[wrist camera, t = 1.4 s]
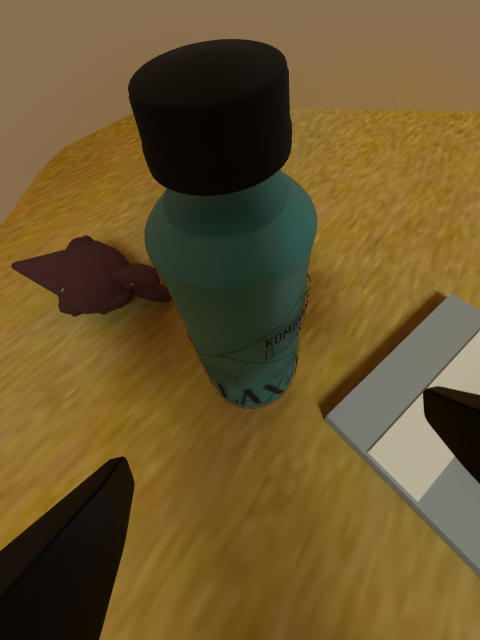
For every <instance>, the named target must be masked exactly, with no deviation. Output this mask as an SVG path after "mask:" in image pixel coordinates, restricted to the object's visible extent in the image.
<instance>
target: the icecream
mask: <svg viewBox="0 0 480 640" xmlns="http://www.w3.org/2000/svg"><path fill="white" fill-rule="evenodd" d="M11 267H12V268H13V269H14V270H16V271H17V272H19V273H20V274H22V275H24V276H26V277H27V278H29V279H31V280H33V281H34V282H36V283H38V284H39V285H41V286H43V287H44V288H46V289H48V290H49V291H51V292H53V293H54V294H56V295H58V298H59V305H58V306H59V309H60V311H61V312H62V313H66V314H71V315H72V316H74V317H75V316H78V315H80V314H83V313H85V314H91V313H100V314H106V313H108V312H109V311H112V310H115V309H117V308H121V307H123V306H125V305H126V304H127V303H128V301H129V299H130V298H131V294H132V295H135V296H138V297H140V298H144V299H148V300H152V301H159V302H168V301H171V300H172V297H171V295H170V293H169V291H168V289H167V287H166V286H163V285H161V284H159V283H160V279H159V277H158V274H157V272H156V270H155V269H154V268H152V267H151V266H147V265H142V264H131V265H130V264H129V262H128V261H127V259H126V258H125V257H124V255H123V254H121V253H120V252H118V251H117V250H116V249H114V248H112V247H110V246H108V245H105V244H103V243H101V242H99V241H94V240H93V239H92V238H91V237H89V236H83V237H81V238H75V239H73V240H72V241H71V242H70V243H69V245H68V246H67V248H66V250H62V251H58V252H54V253H50V254H46V255H42V256H38V257H34V258H30V259H26V260H22V261H18V262H15V263H13V264H12V265H11Z"/></svg>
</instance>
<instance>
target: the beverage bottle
mask: <svg viewBox="0 0 480 640" xmlns="http://www.w3.org/2000/svg"><path fill="white" fill-rule="evenodd" d="M128 92H129V100H130V104H131V107H132V110H133V114H134V117H135V120H136V124H137V127H138V130H139V134H140V137H141V141H142V150H143V153H144V156H145V159H146V162H147V165H148V167H149V170H150V172H151V174H152V176H153V177H154V179H155V180H156V181H157V182H158V183H160V184H161V185H162V186H164V187H166V188H167V189H166V190H165V192H164V193H163V194H162V196H161V197H160V198H159V200H158V201H157V203H156V204H155V206H154V208H153V210H152V211H151V213H150V215H149V218H148V220H147V223H146V228H145V245H146V250H147V252H148V255H149V257H150V259H151V261H152V263H153V265H154V266H155V268H156V269H157V270H158V271H159V273H160V275H161V277H162V279H163V281H164V283H165V285H166V287H167V289H168V291H169V293H170V295H171V297H172V299H173V301H174V303H175V305H176V307H177V310H178V312H179V314H180V316H181V318H182V320H183V322H184V324H185V326H186V328H187V330H188V332H189V335H190V337H189V338H191V339H190V340H192V341H191V342H193V343H192V344H194V345H193V346H195V347H194V348H196V349H195V350H196V352H198V353H197V354H199V355H198V356H200V357H199V358H201V359H200V361H201V360H202V361H201V362H202V363H201V364H203V365H204V366H205V368H206V370H207V372H208V374H207V375H209V376H210V378H211V380H212V382H213V384H214V385H215V387H216V389H217V390H218V392H219V393H220V394H221V395H222V396H223V397H224V398H225V399H227V401H229V402H230V403H231V402H232V403H233V404H236V405H238V406H243V407H259V406H263V405H266V404H269V403H271V402H273V401H274V400H276V399H278V397H280V396H281V395H282V394H283V393H285V392H286V391H285V390H286V389H288V388H289V387H288V386H289V384H290V382H291V379H292V376H293V370H294V364H295V361H296V366H297V361H298V356H297V355H296V354H297V353H296V352H297V350H299V349H297V344H298V342H299V341H298V338H299V333H300V332H299V331H301V328H300V325H301V318H302V317H303V316H302V313H305V314H306V311H305V312H304V310H303V305H304V298H305V295H306V293H307V292H308V291H309V290H310V289H309V290H308V291H307V292H306V285H307V275H308V267H309V261H310V254H311V248H312V246H313V243H314V240H315V236H316V229H317V215H316V211H315V207H314V204H313V202H312V200H311V198H310V197H309V195H308V194H307V192H306V191H305V190H304V189H303V188H302V187H301V186H300V185H299V184H298V183H297V182H296V181H295V180H293V179H292V178H291V177H289V176H288V175H287V174H285V173H284V172H282V171H281V170H280V169H281V168H282V166H283V165H284V164H285V163H286V161H287V160H288V158H289V155H290V152H291V144H292V122H291V118H290V104H289V70H288V67H287V62H286V59H285V56H284V55H283V54H282V53H281V52H280V51H279V50H278V49H276V48H274V47H273V46H270V45H268V44H265V43H262V42H256V41H251V40H241V39H222V40H212V41H205V42H200V43H195V44H191V45H186V46H183V47H179V48H177V49H174V50H171V51H168V52H166V53H164V54H161V55H159V56H157V57H156V58H154V59H152V60H150V61H149V62H147V63H146V64H144V65H143V66H142V67H141V68H140V69H138V70H137V71H136V72H135V74H134V75H133V76H132V78H131V80H130V83H129V85H128ZM308 277H309V276H308ZM309 279H310V277H309ZM310 283H311V281H310ZM309 288H310V287H309ZM305 292H306V293H305ZM307 294H308V293H307ZM307 297H309V294H308V295H307ZM307 303H308V299H307ZM305 307H306V308H307V304H305ZM305 307H304V308H305ZM306 308H305V309H306ZM305 314H303V315H305ZM303 319H304V320H305V317H303ZM302 325H303V323H302ZM303 326H304V325H303ZM302 330H303V329H302ZM301 334H302V333H301ZM189 335H188V336H189ZM301 337H302V336H301ZM190 345H191V344H190ZM299 348H300V346H299ZM298 353H299V352H298ZM196 356H197V355H196ZM296 356H297V357H296ZM295 358H297V360H296V359H295ZM203 365H201V366H203ZM296 366H295V371H296ZM202 368H203V367H202ZM295 373H296V372H295ZM295 373H294V375H295ZM208 379H209V378H208ZM293 379H294V378H293ZM209 381H210V380H209ZM212 382H210V383H212ZM291 383H292V382H291ZM290 385H291V384H290ZM215 391H216V390H215ZM287 391H288V390H287ZM216 393H217V392H216ZM223 397H222V398H223ZM279 399H280V398H279ZM223 400H224V399H223ZM227 401H226V402H227ZM273 403H274V402H273ZM271 404H272V403H271ZM269 405H270V404H269ZM234 406H235V405H234ZM238 406H237V407H238ZM263 407H264V406H263ZM241 408H242V407H241ZM259 408H261V407H259ZM249 409H251V408H249Z"/></svg>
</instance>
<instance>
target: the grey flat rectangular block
mask: <svg viewBox="0 0 480 640" xmlns="http://www.w3.org/2000/svg"><path fill="white" fill-rule="evenodd" d="M435 386H441V387H446V388H450V389H455V390H460V391H464V392H469V393H473V394H478V395H480V310H478V309H477V308H475V307H473V306H472V305H470V304H468V303H467V302H465V301H463V300H462V299H460V298H458V297H457V296H455V295H454V294H452V293H451V294H450V295H449V296H448V297H447V298H446V299H445V300H444V301H443V302H442V303H441V304H440V305H439V306H438V307H437V308H436V309H435V310H434V311H433V312H432V313H431V314H430V315H429V316H428V317H427V318H426V319H425V320H423V321H422V322H421V323H420V324H419V325H418V326H417V327H416V328H415V329H414V330H413V331H412V332H411V333H410V334H409V335H408V336H407V337H406V338H405V339H404V340H403V341H402V342H401V343H400V344H399V345H398V346H397V347H396V348H395V349H394V350H393V351H392V352H391V353H390V354H389V355H388V356H387V357H386V358H385V359H384V360H383V361H382V362H381V363H380V364H379V365H378V366H377V367H376V368H375V369H374V370H373V371H372V372H371V373H370V374H369V375H368V376H366V377H365V378H364V379H363V380H362V381H361V382H360V383H359V384H358V385H357V386H356V387H355V388H354V389H353V390H352V391H351V392H350V393H349V394H348V395H347V396H346V397H345V398H344V399H343V400H342V401H341V402H340V403H339V404H338V405H337V406H336V407H335V408H334V409H333V410H332V411H331V412H330V413H329V414H328V415H327V416H326V417H325V419H324V420H325V421H326V422H327V423H328V424H329V425H330V426H331V427H332V428H333V429H334V430H335V431H336V432H337V433H338V434H339V435H340V436H341V437H342V438H343V439H344V440H345V441H346V442H347V443H348V445H349V446H350V447H351V448H352V449H353V450H354V451H355V452H356V453H357V454H358V455H359V456H360V457H361V458H362V459H363V460H364V461H365V462H366V463H367V464H368V465H369V466H370V467H371V468H372V469H373V470H374V471H375V472H376V473H377V474H378V475H379V476H380V477H381V478H382V479H383V480H384V481H385V482H386V483H387V484H388V485H389V486H390V487H391V488H392V489H393V490H394V491H395V492H396V493H397V494H398V495H399V496H400V497H401V498H402V499H403V500H404V501H405V502H406V503H407V504H408V505H409V506H410V507H411V508H412V509H413V510H414V511H415V512H416V514H417V515H418V516H419V517H420V518H421V519H422V520H423V521H424V522H425V523H426V524H427V525H428V526H429V527H430V528H431V529H432V530H433V531H434V532H435V533H436V534H437V535H438V536H439V537H440V538H441V539H442V540H443V541H444V542H445V543H446V544H447V545H448V546H449V547H450V548H451V549H452V550H453V551H454V552H455V553H456V554H457V555H458V556H459V557H460V558H461V559H462V560H463V561H464V562H465V563H466V564H467V565H468V566H469V567H470V568H471V569H472V570H473V571H474V572H475V573H476V574H477V575H478V576H479V577H480V484H479V483H478V482H477V481H476V480H475V479H474V478H473V476H472V475H471V474H470V473H469V472H468V471H467V470H466V469H465V468H464V467H463V466H462V464H461V463H460V462H459V461H458V460H457V458H456V457H455V456H454V455H453V453H452V452H451V451H450V450H449V448H448V447H447V446H446V445H445V443H444V442H443V441H442V440H441V438H440V437H439V436H438V435H437V433H436V432H435V431H434V430H433V428H432V427H431V426H430V424H429V423H428V422H427V420H426V418H425V415H424V406H423V391H424V390H425V389H426V388H431V387H435Z"/></svg>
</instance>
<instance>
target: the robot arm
mask: <svg viewBox="0 0 480 640" xmlns="http://www.w3.org/2000/svg"><path fill="white" fill-rule="evenodd" d="M423 406H424V415H425V418H426V420H427V422H428V423H429V424H430V426H431V427H432V428H433V430H434V431H435V432H436V433H437V435H438V436H439V437H440V438H441V440H442V441H443V442H444V443H445V445H446V446H447V447H448V448H449V450H450V451H451V452H452V453H453V455H454V456H455V457H456V458H457V460H458V461H459V462H460V463H461V464H462V466H463V467H464V468H465V469H466V470H467V471H468V472H469V473H470V474H471V475H472V476H473V478H474V479H475V480H476V481H477V482H478V483H479V484H480V395H478V394H473V393H469V392H464V391H460V390H455V389H450V388H446V387H441V386H435V387H431V388H426V389H425V390H424V391H423ZM133 492H134V479H133V476H132V473H131V470H130V467H129V464H128V462H127V459H126V458H125V457H118V458H113V459H110V460H109V461H107V462H106V463H105V464H104V465H103V466H101V467H100V468H99V469H98V470H97V471H95V472H94V473H93V474H92V475H91V476H89V477H88V478H87V479H86V480H85V481H83V482H82V483H81V484H80V485H79V486H77V487H76V488H75V489H74V490H73V491H71V492H70V493H69V494H68V495H67V496H65V497H64V498H63V499H62V500H61V501H60V502H58V503H57V504H56V505H55V506H54V507H52V508H51V509H50V510H49V511H48V512H46V513H45V514H44V515H43V516H42V517H40V518H39V519H38V520H37V521H36V522H34V523H33V524H32V525H31V526H30V527H28V528H27V529H26V530H25V531H24V532H22V533H21V534H20V535H19V536H18V537H16V538H15V539H14V540H13V541H12V542H10V543H9V544H8V545H7V546H6V547H5V548H3V549H2V550H1V551H0V640H99V638H100V635H101V631H102V627H103V623H104V620H105V616H106V612H107V609H108V605H109V601H110V597H111V594H112V590H113V586H114V582H115V579H116V575H117V571H118V568H119V564H120V560H121V556H122V553H123V548H124V544H125V539H126V534H127V528H128V522H129V516H130V510H131V504H132V498H133Z"/></svg>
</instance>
